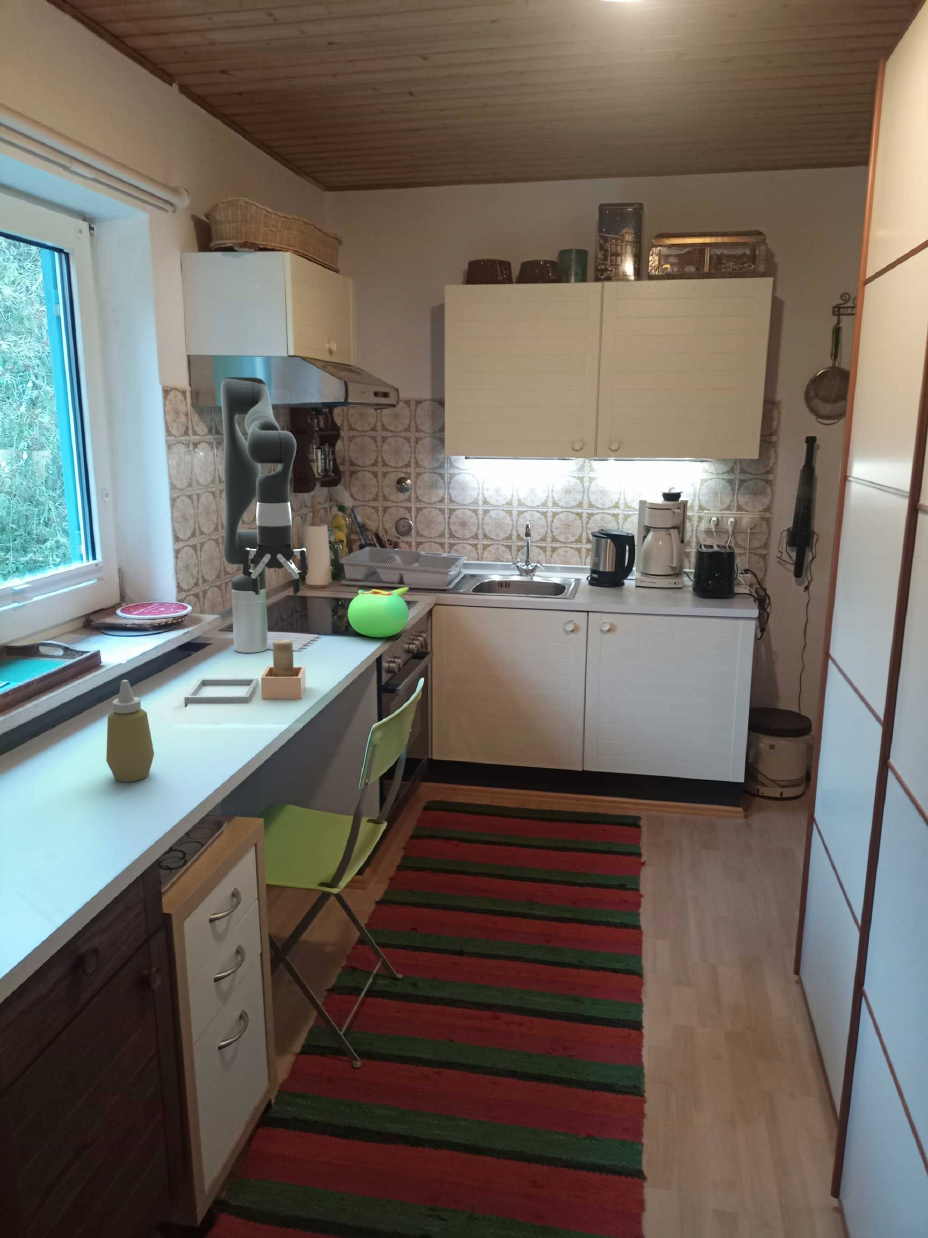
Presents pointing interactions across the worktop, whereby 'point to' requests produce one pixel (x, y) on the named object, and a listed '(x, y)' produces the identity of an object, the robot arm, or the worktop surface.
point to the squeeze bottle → (128, 738)
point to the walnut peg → (283, 658)
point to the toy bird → (378, 612)
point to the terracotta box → (283, 684)
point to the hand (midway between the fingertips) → (276, 594)
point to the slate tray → (246, 698)
